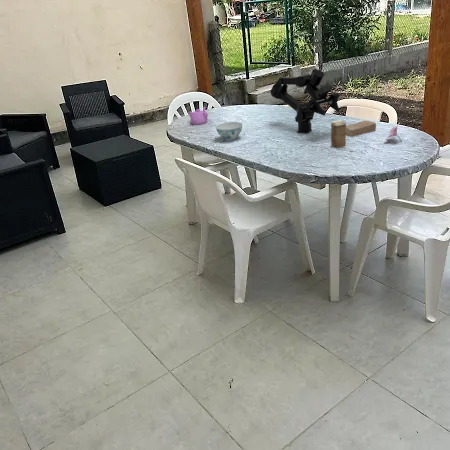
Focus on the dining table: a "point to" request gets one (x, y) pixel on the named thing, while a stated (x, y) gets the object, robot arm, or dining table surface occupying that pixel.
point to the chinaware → (229, 130)
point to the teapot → (198, 117)
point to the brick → (360, 128)
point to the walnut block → (338, 133)
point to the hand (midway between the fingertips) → (331, 113)
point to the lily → (393, 132)
